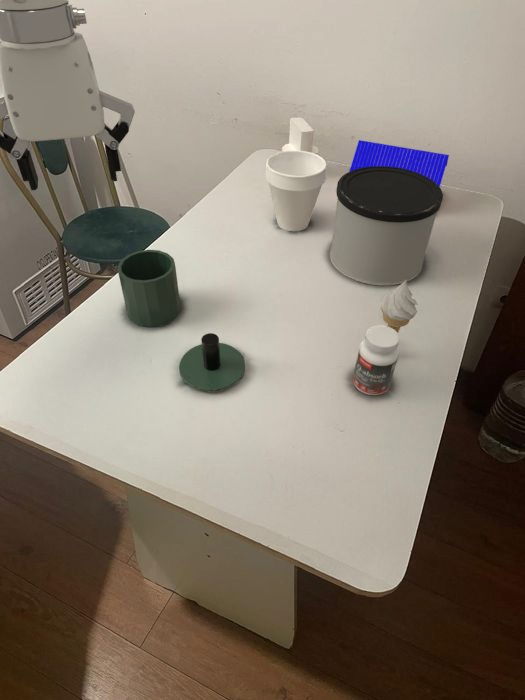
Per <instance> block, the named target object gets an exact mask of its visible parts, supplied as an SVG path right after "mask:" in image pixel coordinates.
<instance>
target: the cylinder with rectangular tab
mask: <svg viewBox="0 0 525 700" xmlns="http://www.w3.org/2000/svg"><path fill="white" fill-rule="evenodd" d="M314 133H315V131H314V129H313V127H311V125H310V124H309V123H308V122H307V121H306V120H305V119H304V118H303V116H302V117H300V116H299V117H298V116H297V117H291V118H289V135H288V136H289V137H288V139H289V140H288V143H285V144H284V145H283V146H282V147H281V152H283V151H290V150H299V151H307V152H311V153H314V154H317V155H319V148H318V147H317V146H316V145H315V144H314V135H315V134H314Z"/></svg>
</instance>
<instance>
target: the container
mask: <svg viewBox="0 0 525 700" xmlns="http://www.w3.org/2000/svg"><path fill="white" fill-rule="evenodd" d="M349 171H350V170H349ZM349 171H348V172H346V173H344V174H343V175H341V176H340V178H339V179H338V181H337V184H336V191H335V192H336V197H337V201H336V207H335V208H336V209H335V216H334V222H333V223H334V224H333V232H332V241H331V247H330V249H329V250H330V251H329V258H330V262H331V264H332V265H333V266H334V268H335V269H336V270H337V271H338V272H339V273H341V274H342V275H344V276H345V277H347V278H349V279H351V280H353V281H355V282H356V281H357V282H359V283H363V284H366V285H372V286H383V287H385V286H397V285H401V284H402V283H403V282H404V281H405V280H406V282H407V283H408V282H410V281H411V280H414V279H415V278H417V276H419V274H420V273H421V272H422V269H423V267H424V259H425V256H426V252H427V249H428V245H429V241H430V238H431V234H432V231H433V226H434V224H435V220H436V216H437V213H438V211H440V208H441V206H442V202H443V200H444V192H443V190H442V189H441V186H440V187H439V186H438V185H437V184H436V183H435V182H434V181H433V180H431V179H430V178H428V177H426V176H424V175H422V174H419V173H417V172H414V171H411V170H407V169H402V168H397V167H388V166H372V167H364V168H359V169H355V170H352V171H350V172H349Z"/></svg>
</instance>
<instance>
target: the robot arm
mask: <svg viewBox="0 0 525 700" xmlns="http://www.w3.org/2000/svg"><path fill="white" fill-rule="evenodd" d="M84 24H85V25H87V24H88V21H87V15H86V11H85V8H77V7H73V4H70V3H69V0H0V85H1V90H2V95H3V97H4V98H3V99H2V100H0V121H1V120H3V119H4V118H5V117H7V116H8V117H9V120H10V124H11V127H12V129H13V132H14V134H15V137H14V138H13V137H12V136H10V135H9V134H7V133H6V132H4V131H3V130H1V129H0V149H1V150H3V151H5V152H6V153H8V154H10V156H11V157H12V158H13V159H15V160H16V164H17V166H18V169H19V173H20V175H21V178H22V181H23V182H28V184H29V188H30V190H31V191H37V189H38V188H39V176H38V173H37V169H36V166H35V163H34V160H33V157H32V154H31V151H30V150H29V149H28V146H29V144H30V143H31V142H43V141H44V142H45V141H46V142H47V141H57V140H67V139H77V138H86V137H87V138H89V137H93V136H95V137H96V138H98V139H99V140H100V141H101V142H103V144H104V150H105V156H106V160H107V165H108V170H109V175H110V180H111V181H112V182H118V175H117V172H122V168H121V163H120V162H121V161H120V157H119V156H120V155H119V152H118V149H119V147H120V144H121V142H122V141H123V140H124V139H125V137H126V136H127V135H128V133H129V131H130V127H131V125H132V122H133V119H134V116H135V113H136V111H135V108H134V105H133V104H132V103H130V102H128V101H125V100H123V99H121V98H119V97H116V96H114V95H111V94H108V93H106V92H104V91H101V90H100V88H99V83H98V80H97V75H96V72H95V71H96V70H95V68H94V64H93V61H92V57H91V55H90V51H89V48H88V45H87V43H86V41H85V38H84V36H83V34H82V33H79V32H75V30H76V29H77V27H78V26H81V25H84ZM104 108H105V109H108V110H110V111H113V112H115V113H118V114H119V115H120V116H119V119H118V121H117V122H116V123H115V124H114V126H113V127H112V128H111V127H110V126H109V125H107V124H106V122H105V113H104Z"/></svg>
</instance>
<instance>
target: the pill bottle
mask: <svg viewBox="0 0 525 700" xmlns="http://www.w3.org/2000/svg"><path fill="white" fill-rule="evenodd" d="M399 342H400V334H399V332H398V333H397V332H396V331H395V330H394V329H392V328H390V327H388V325H383V324H377V325H372V326H370V327H369V328H368V329H367V330H366V331H365V336H364V339H363V340H362V341H361V342H360V344H359V347H358V350H357V351H358V352H357V356H356V360H355V366H354V370H353V375H352V383H353V384H354V386H355V388H356V389H357V390H358V391H360V392H361V393H362V394H365V395H368V396H378V395H382V394H385V393H386V392H387V391H388V390H389V389H390V387H391V384H392V380H393V376H394V373H395V369H396V366H397V363H398V360H399V354H400V352H399V351H400V350H399V344H400V343H399Z"/></svg>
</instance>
